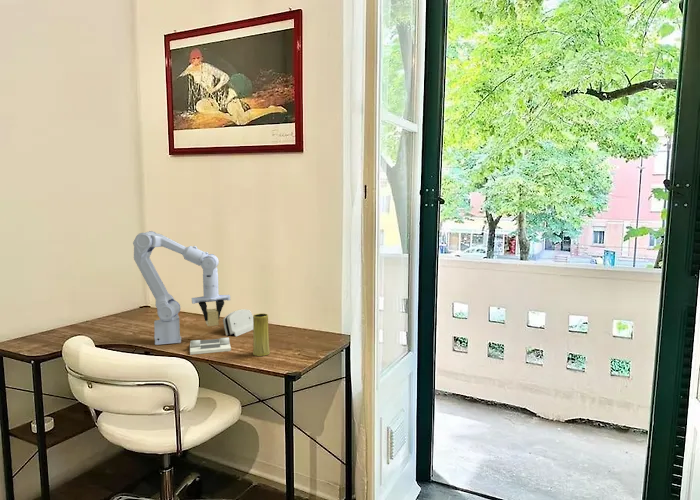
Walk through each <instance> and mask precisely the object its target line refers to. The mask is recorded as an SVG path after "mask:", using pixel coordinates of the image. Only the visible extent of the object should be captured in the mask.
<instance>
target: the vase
mask: <svg viewBox="0 0 700 500" xmlns="http://www.w3.org/2000/svg"><path fill="white" fill-rule="evenodd" d="M252 315H253V330H252V331H253V337H252V339H253V349H252V350H253V351H252V354H253V356H256V357H265V356H268V355H270V354H271V350H270V339H269V338H270V337H269V314H267V313H255V314H252Z"/></svg>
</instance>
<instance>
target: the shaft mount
mask: <svg viewBox="0 0 700 500" xmlns="http://www.w3.org/2000/svg"><path fill="white" fill-rule="evenodd" d="M231 351H232V347H231V343H230V337H229V336H228V337H220V338H216V339H215V338H213V339H196V340H190V342H189V354H190V356H191V355H201V354H212V353H222V352H223V353H224V352H231Z"/></svg>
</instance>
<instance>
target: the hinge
mask: <svg viewBox="0 0 700 500" xmlns="http://www.w3.org/2000/svg"><path fill="white" fill-rule="evenodd" d="M253 315H254V314H253V313H252V311H251V310H250V309H244V308H243V309H237V310H233V311H232V312H230V313H228V314H227V315H226V316H225V317H223V319H222V322H223V323H222V324H223V328H224V331H225V335H226V336H229V335H230V336H231V335H233V334H234V337H238V336H241V335H244V334H245V333H249V332H251V331H253Z"/></svg>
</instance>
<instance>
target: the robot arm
mask: <svg viewBox="0 0 700 500" xmlns="http://www.w3.org/2000/svg"><path fill="white" fill-rule="evenodd" d="M132 244H133V260H134V261H135V264H136V266H137V267H138V269H139V271H140V273H141V276H142V278H143V279H144V281H145V283H146V285H147V286H148V289H149V290H150V292H151V294H152V295H153V297H154V300H155V307H156V309H157V310H156V311H157V312H156V313H157V317H158V318H159V319H156V320H154V322H153V323H154V324H153V329H154V332H153V333H154V336H153V339H154V345H155V346H157V345H167V344H168V345H169V344H170V345H171V344H181V343H182V336H181V333H180V332H181V331H180V329H181V328H180V316H179V313H180V311H181V304H180V303H179V302H178V301H177V300H176V299H175V298H174V297H173V295H172V294H170V293H169V291H168V289H167V288H166V286H165V284H164V282H163V281H162V278H161V277H160V275H159V273H158V270H157V269H156V267H155V265H154V263H153V261H152V260H151V258H150V257H151V255H152V253H153V250H154V249H155V248H165V249H168V250H171V251H173V252H175V253H178V254H180V255H182V257H183V258H184V260H186V261H188V262H190V263H192V264H194V265H197V266H199V267H201V268H202V284H203V285H202V287H203V291H202V292H203V296H196V297H191V304H193V305H194V304H198V305H199V307H200V309H201V312H202V314H203V317H204V322H206V321H207V309H208V304H207V303H211V302H212V303H213V302H215V307H216V308H215V309H216V310H217V311H218V321H219V320H220V318H221V317H220V316H221V312H222V310H223V307H224V305H225V301H231V295H230V294H219V292H220V291H219V273H218V271H219V269H218V266H219V262H220V261H219V258H218V256H216V254H213V253H209V252H208V251H203V250H201V249H199V248H198V246H196V245H193V246H192V245H190V246H185V245H183V244H181V243H179V242H177V241H175V240H173V239H171V238H170V237H167V236H165V235H163V234H162V233H161V234H160V233H158V232H156V231H153V230H151V231H150V230H149V231H145V232H140V233H137V235H136V236H135V238H134V239H133V242H132Z"/></svg>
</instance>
